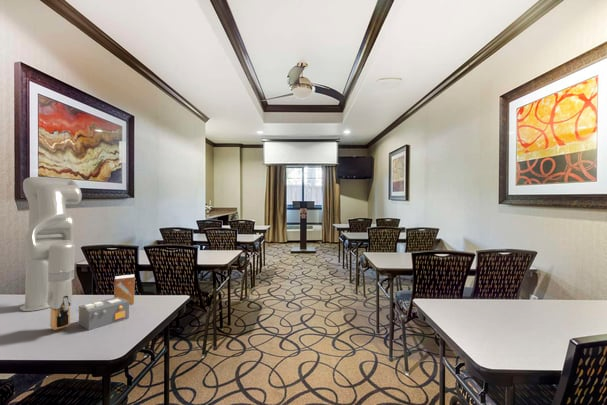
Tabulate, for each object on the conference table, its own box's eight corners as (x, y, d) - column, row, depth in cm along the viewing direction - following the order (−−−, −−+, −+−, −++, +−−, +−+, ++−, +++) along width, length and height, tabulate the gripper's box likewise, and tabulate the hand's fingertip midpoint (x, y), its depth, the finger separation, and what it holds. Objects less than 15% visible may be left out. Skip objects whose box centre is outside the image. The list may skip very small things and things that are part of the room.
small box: (113, 307, 128) (114, 279, 129) (114, 303, 134) (114, 276, 134) (134, 304, 133) (134, 276, 133) (133, 300, 138) (134, 273, 138)
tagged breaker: (106, 315, 116) (106, 301, 116) (117, 312, 119) (117, 298, 119) (110, 317, 114) (111, 303, 114) (121, 314, 117) (121, 300, 117)
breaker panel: (78, 323, 110) (79, 303, 110) (117, 312, 122) (118, 294, 122) (89, 330, 104) (90, 309, 105) (129, 318, 116) (129, 299, 116)
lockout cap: (50, 326, 104) (50, 307, 104) (65, 322, 108) (65, 304, 108) (54, 329, 102) (54, 310, 102) (69, 325, 106) (70, 307, 106)
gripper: (41, 274, 107) (39, 321, 107) (56, 282, 97) (54, 334, 97) (65, 270, 113) (64, 315, 113) (82, 277, 104) (80, 326, 104)
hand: (60, 323), depth 105 cm, fingers closed on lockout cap, 4 cm apart
